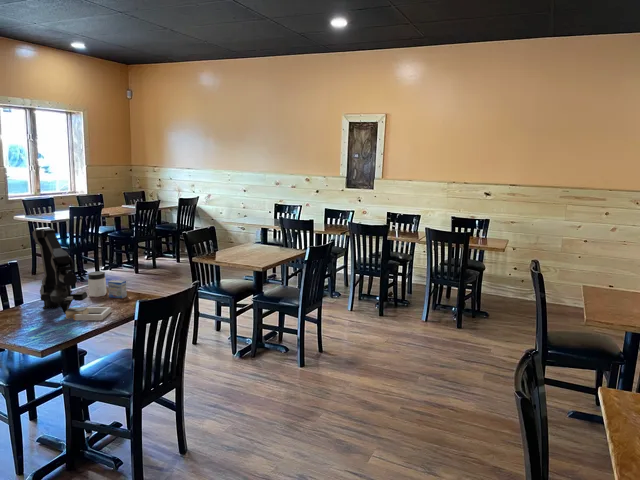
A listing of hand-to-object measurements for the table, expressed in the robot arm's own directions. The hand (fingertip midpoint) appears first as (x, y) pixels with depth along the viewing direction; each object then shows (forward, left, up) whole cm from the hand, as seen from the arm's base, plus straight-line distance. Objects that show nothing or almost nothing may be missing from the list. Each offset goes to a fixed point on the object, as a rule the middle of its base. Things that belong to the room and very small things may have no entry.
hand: (65, 313), depth 218 cm
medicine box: (+13, +30, -2) cm, 33 cm away
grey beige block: (+5, 0, -2) cm, 6 cm away
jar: (+1, +34, -2) cm, 34 cm away
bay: (+13, 0, -1) cm, 13 cm away
